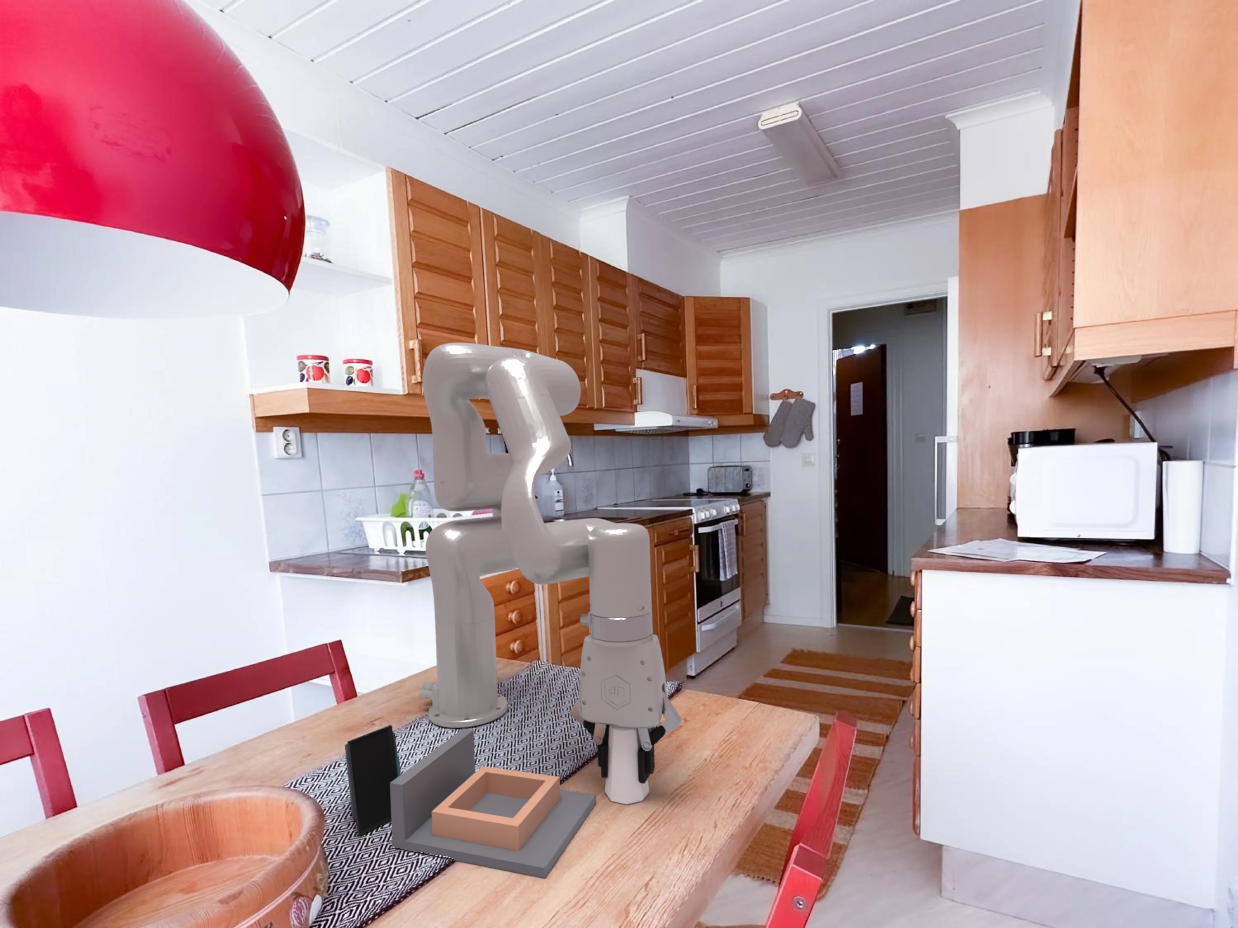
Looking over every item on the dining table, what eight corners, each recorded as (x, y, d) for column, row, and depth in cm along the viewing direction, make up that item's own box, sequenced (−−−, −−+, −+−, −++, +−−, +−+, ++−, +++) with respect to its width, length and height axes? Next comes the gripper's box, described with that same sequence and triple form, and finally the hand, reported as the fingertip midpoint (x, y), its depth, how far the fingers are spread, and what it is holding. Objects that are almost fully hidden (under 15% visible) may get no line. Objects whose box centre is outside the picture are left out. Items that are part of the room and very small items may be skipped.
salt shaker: (606, 781, 80) (603, 694, 80) (649, 780, 80) (646, 694, 80) (603, 805, 75) (600, 712, 74) (649, 804, 74) (646, 711, 74)
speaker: (411, 818, 73) (401, 727, 73) (358, 838, 70) (348, 742, 70) (399, 796, 79) (389, 712, 80) (349, 812, 76) (340, 726, 77)
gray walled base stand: (392, 847, 68) (389, 782, 68) (464, 782, 81) (462, 728, 81) (545, 878, 62) (542, 806, 62) (596, 802, 75) (593, 744, 75)
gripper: (545, 630, 76) (550, 781, 76) (681, 638, 71) (687, 801, 71) (570, 614, 83) (575, 753, 83) (695, 621, 78) (700, 769, 78)
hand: (626, 773), depth 77 cm, fingers closed on salt shaker, 4 cm apart
